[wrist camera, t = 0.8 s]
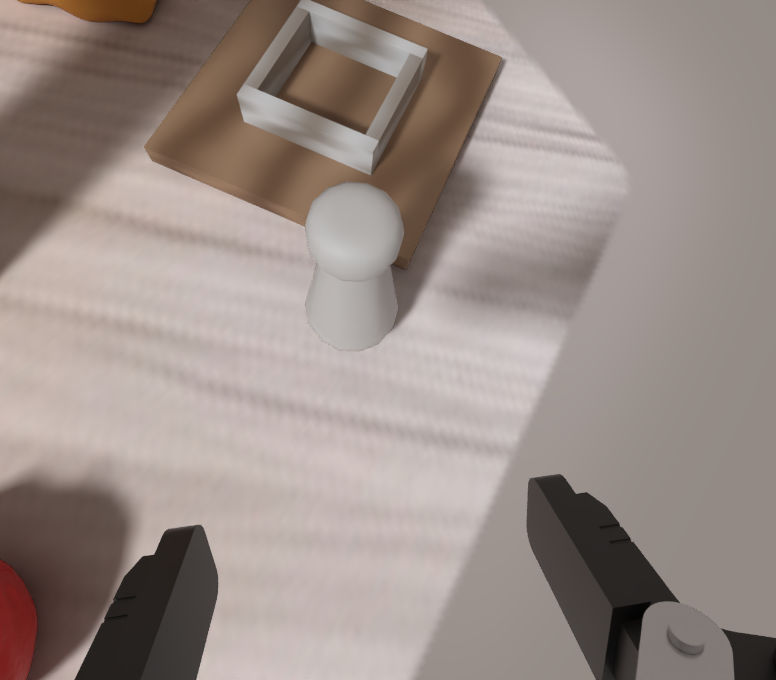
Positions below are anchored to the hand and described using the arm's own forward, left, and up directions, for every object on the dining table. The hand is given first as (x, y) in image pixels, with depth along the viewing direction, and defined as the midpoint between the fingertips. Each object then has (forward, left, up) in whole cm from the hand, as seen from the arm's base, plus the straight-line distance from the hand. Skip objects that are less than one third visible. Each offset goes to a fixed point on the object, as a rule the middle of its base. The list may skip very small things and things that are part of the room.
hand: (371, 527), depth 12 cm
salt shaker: (-5, +11, -18) cm, 21 cm away
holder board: (-13, +26, -18) cm, 34 cm away
